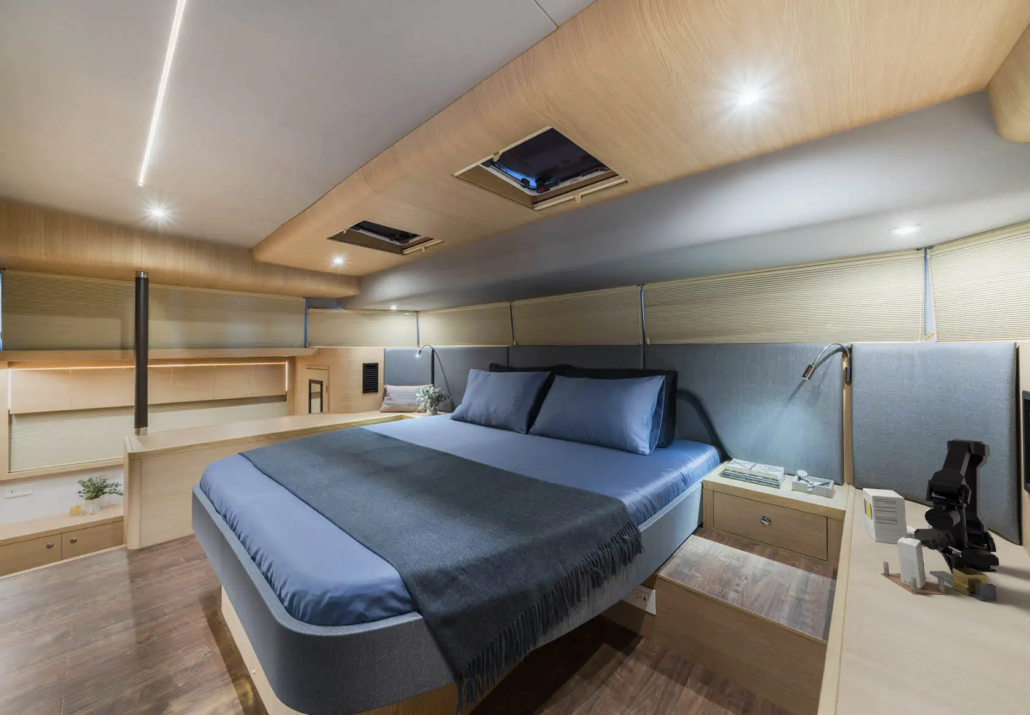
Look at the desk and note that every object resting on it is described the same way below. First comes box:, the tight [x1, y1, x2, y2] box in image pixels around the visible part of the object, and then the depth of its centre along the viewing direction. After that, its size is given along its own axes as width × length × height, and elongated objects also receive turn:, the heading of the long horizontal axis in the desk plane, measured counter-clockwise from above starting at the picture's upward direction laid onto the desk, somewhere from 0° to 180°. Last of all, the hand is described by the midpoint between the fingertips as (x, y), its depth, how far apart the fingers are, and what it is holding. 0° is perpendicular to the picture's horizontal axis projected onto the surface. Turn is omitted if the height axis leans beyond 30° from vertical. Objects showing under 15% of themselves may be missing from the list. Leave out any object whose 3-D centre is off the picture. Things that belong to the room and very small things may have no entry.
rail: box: [929, 570, 998, 602], centre depth 113 cm, size 4×14×4 cm, turn 175°
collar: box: [951, 567, 989, 596], centre depth 111 cm, size 6×4×5 cm, turn 85°
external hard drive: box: [906, 525, 916, 537], centre depth 151 cm, size 2×8×12 cm
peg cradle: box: [880, 561, 950, 595], centre depth 116 cm, size 9×11×4 cm
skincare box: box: [896, 536, 927, 589], centre depth 116 cm, size 6×4×12 cm
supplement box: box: [862, 488, 908, 545], centre depth 145 cm, size 10×9×17 cm
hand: (955, 575), depth 114 cm, fingers closed
